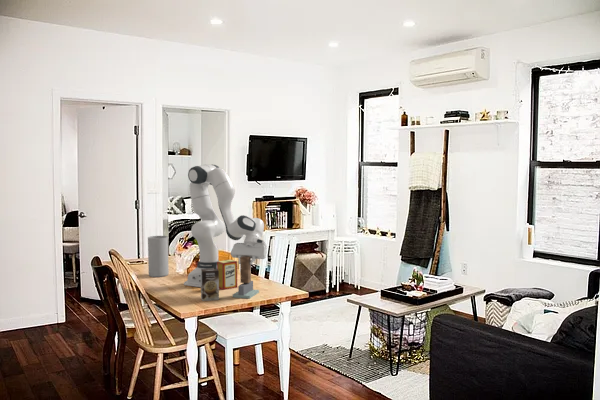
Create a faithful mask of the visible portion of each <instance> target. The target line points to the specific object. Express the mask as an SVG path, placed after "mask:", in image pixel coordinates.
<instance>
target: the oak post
mask: <svg viewBox="0 0 600 400" xmlns="http://www.w3.org/2000/svg"><path fill="white" fill-rule="evenodd" d="M249 260H250V261H251V260H252V259H251V257H247V256H243V257H240V264H239V267H240V268H239V269H240V283H241V284H243V283H249V282H251V281H252V273H251V272H252V271H251V270H252V265H249Z"/></svg>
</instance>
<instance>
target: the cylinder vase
mask: <svg viewBox="0 0 600 400" xmlns="http://www.w3.org/2000/svg"><path fill="white" fill-rule="evenodd" d="M147 255H148V257H147V259H148V260H147V261H148V264H147V265H148V276H149V277H150V278H151V277H152V278H163V277H166V276H168V275H169V272H170V271H169V236H167V235H152V236H148V237H147Z"/></svg>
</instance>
